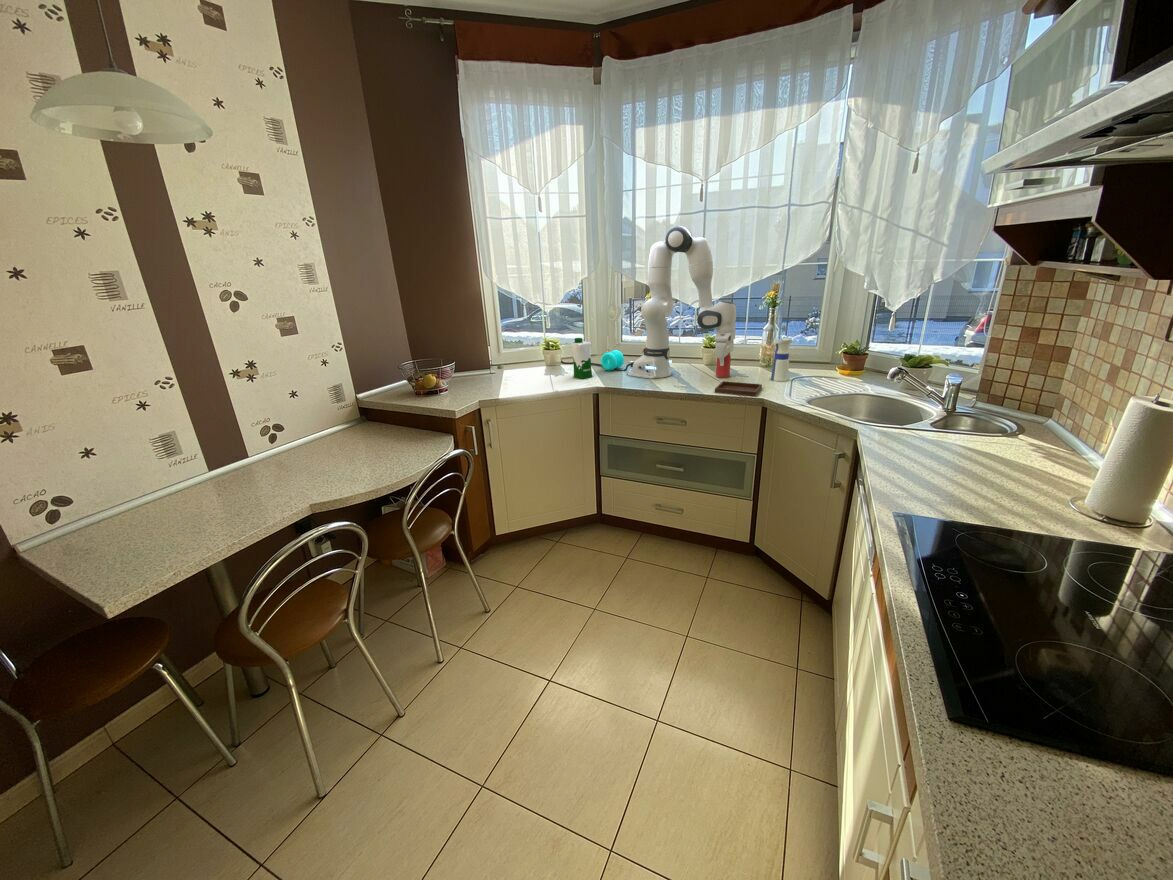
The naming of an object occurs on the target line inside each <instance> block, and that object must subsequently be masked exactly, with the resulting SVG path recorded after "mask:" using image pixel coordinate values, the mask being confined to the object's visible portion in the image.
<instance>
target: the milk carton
mask: <svg viewBox="0 0 1173 880" xmlns="http://www.w3.org/2000/svg"><path fill="white" fill-rule="evenodd" d="M592 344H593V343H592V342H590V341H585V340H583V337H575V338H574V342H571V343H570V346H571V350H572V360H573V361H572V362H573V363H574V364H573V378H575V379H580V380H584V379H589V378H592V377H593V371H592V365H591V363H592V356H591V355H592V354H591V353H592V352H591V349H592Z"/></svg>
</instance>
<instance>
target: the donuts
mask: <svg viewBox="0 0 1173 880" xmlns="http://www.w3.org/2000/svg"><path fill="white" fill-rule="evenodd" d="M624 363H625V357H624V354H623V353H622V352H621V351H620V350H617V349H613V350H611V351H609V352H605V353H603V354H602V356H601V358H600V364H601V365H602V366H603V367H602V366H601V367H602V368H603V369H604V370H606V371H609V372H611V371H614V370H613V369H620V368H621V367H623V365H624Z"/></svg>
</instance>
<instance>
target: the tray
mask: <svg viewBox="0 0 1173 880" xmlns="http://www.w3.org/2000/svg"><path fill="white" fill-rule="evenodd" d="M762 389H763V384H762V383H751V382H750V383H749V382H738V381H737V382H736V381H727V380H722V381H721V382H720V383H719V384H718V385H716V386H715V387H714V394H722V395H723V394H724V395H735V396H743V397H744V396H745V397H754V398H755V397H757V395H758V394H759V393H760V392H761V391H762Z"/></svg>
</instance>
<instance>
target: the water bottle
mask: <svg viewBox="0 0 1173 880" xmlns="http://www.w3.org/2000/svg"><path fill="white" fill-rule="evenodd" d="M787 329H788V327H787V326H786V325H783V327H780V330H781V333H783V332H785V333H787ZM791 344H793V339H792V338H791V337H783V338H782V339H778V338H776V337H775V338H774V340H773V342H772V345H775V349H774V351H773V352H774V356H773V357H774V358H773V359H772V360H773V361H772V368H771V375H770V380H771V381H773V382H787V381H789V369H790V359H789V358H790V353H791V350H790V345H791Z"/></svg>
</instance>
